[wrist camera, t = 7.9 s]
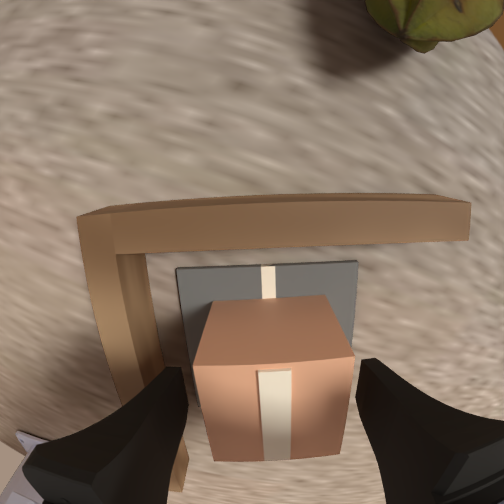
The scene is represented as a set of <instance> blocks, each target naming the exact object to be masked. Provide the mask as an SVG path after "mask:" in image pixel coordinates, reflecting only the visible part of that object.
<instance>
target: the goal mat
mask: <svg viewBox="0 0 504 504" xmlns="http://www.w3.org/2000/svg"><path fill="white" fill-rule="evenodd" d="M176 271H177V279H178V287H179V295H180V302H181V309H182V316H183V323H184V329H185V336H186V342H187V348H188V354H189V360H190V366H191V371H192V377H193V382H194V387H195V393H196V398H197V403H198V407H201V404H200V400H199V395H198V390H197V385H196V380H195V375H194V370H193V363H194V360H195V356H196V353H197V350H198V347H199V343H200V340H201V337H202V334H203V331H204V328H205V324H206V321H207V318H208V315H209V312H210V309H211V306H212V303H213V301H227V300H249V299H267V298H284V297H300V296H314V295H326V297H327V299H328V301H329V303H330V306H331V308H332V310H333V312H334V314H335V316H336V318H337V320H338V322H339V324H340V326H341V328H342V330H343V332H344V334H345V336H346V338H347V340H348V342H349V345H350V347H351V346H352V337H353V328H354V318H355V306H356V294H357V279H358V261H357V260H351V261H330V262H308V263H285V264H260V265H234V266H207V267H178V268H177V269H176Z"/></svg>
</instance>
